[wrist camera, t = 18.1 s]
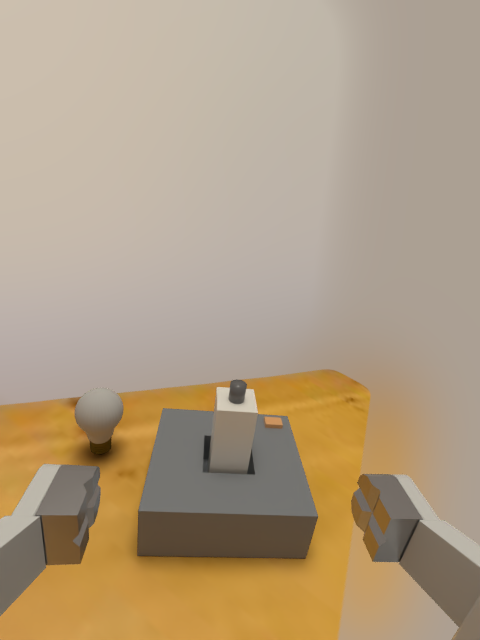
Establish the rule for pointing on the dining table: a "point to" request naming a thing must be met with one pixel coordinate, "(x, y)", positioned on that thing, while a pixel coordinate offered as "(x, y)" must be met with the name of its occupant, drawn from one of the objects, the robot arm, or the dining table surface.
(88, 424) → the light bulb
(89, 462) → the dining table surface
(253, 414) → the plug
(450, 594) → the robot arm
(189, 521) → the socket housing
